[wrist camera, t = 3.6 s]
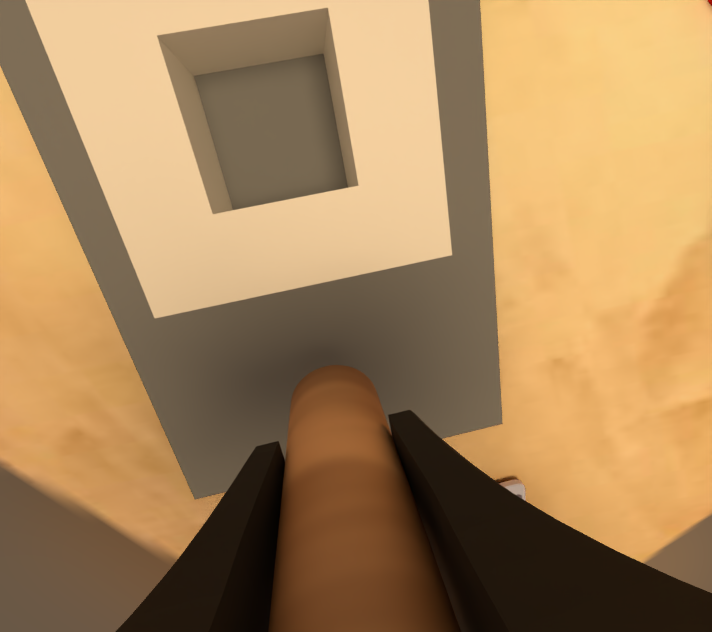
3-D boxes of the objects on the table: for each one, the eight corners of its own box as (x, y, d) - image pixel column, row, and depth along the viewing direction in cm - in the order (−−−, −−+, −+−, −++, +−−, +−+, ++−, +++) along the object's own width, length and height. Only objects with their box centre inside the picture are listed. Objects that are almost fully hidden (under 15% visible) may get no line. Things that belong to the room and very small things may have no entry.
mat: (499, 420, 18) (502, 423, 18) (196, 494, 17) (195, 499, 17) (467, -147, 11) (471, -157, 11) (-56, -75, 10) (-67, -83, 10)
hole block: (424, 245, 15) (452, 255, 12) (186, 294, 14) (154, 318, 11) (388, -61, 11) (414, -148, 8) (74, -12, 11) (-12, -90, 8)
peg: (384, 430, 12) (541, 913, 4) (302, 449, 12) (284, 998, 4) (369, 356, 12) (538, 786, 3) (280, 376, 11) (192, 894, 3)
